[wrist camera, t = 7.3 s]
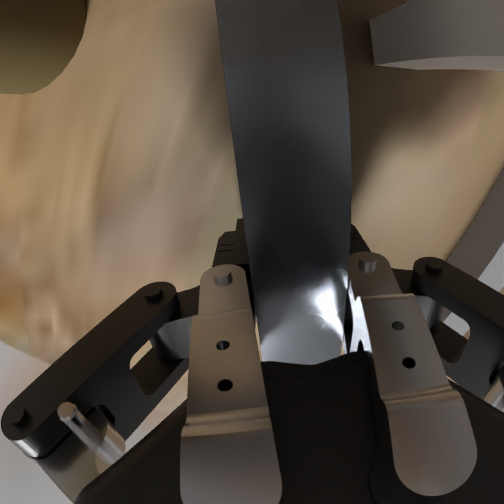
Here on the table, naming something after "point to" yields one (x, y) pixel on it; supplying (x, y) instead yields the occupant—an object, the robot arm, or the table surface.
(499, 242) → the plain stick
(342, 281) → the steel crook
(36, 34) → the cork
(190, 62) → the table surface
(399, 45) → the low table
